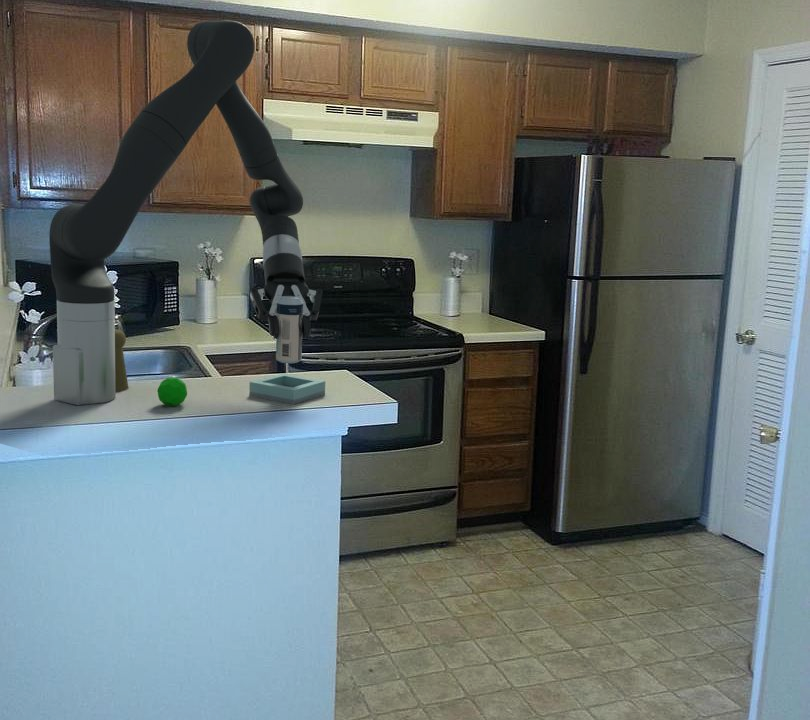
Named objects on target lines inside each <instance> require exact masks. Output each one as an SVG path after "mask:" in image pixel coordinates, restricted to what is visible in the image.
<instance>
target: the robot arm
mask: <svg viewBox="0 0 810 720" xmlns="http://www.w3.org/2000/svg"><path fill="white" fill-rule="evenodd" d="M186 45H187V46H186V47H187V52H188V56H189V58H190V60H191V63H192V64H193V66H192V68H190V70H189V71H188V72H187V73H186V74H184V76H183V77H182V78H180V79H179V80H177V81H176V82H175V83H173V84H172V85H170V86H169V87H167V88H166V89H165V90H163V91H162V92H161V93H159V94H157V96H154V98H153V99H151V100H150V101H149V102H148V103H147V104H146V105H145V106H144V107H143V108H142V110H141V111H140V112H139V114H138V115H137V116H136V117H135V119H134V120H133V121H132V123H131V124H130V125H129V127H128V128H127V130H126V131H125V133H124V134H123V136H122V139H121V142H120V145H119V146H118V150H117V153H116V157H115V159H114V163H113V166H112V169H111V171H110V173H109V175H108V176H107V178H106V179H105V181H104V182H103V183H102V185H101V186H100V187H99V188H98V190H97V191H95V193H94V194H93V196H91V198H89V200H88V201H87V202H86V203H85V204H79V203H77V204H76V203H75V204H67V205H65V206H63V207H61V208H60V209H58V210H57V211H56V213H55V214H54V216H53V217H52V219H51V221H50V226H49V235H48V236H49V240H48V241H49V256H50V257H49V258H50V272H51V279H52V282H53V285H54V288H55V294H56V323H57V324H56V327H57V328H56V330H57V333H56V336H57V344H54V345H53V346H52V370H53V371H52V372H53V373H52V374H53V376H52V377H53V400H54V401H58V402H63V403H67V404H71V405H76V406H81V405H89V404H100V403H106V402H109V401H113V400H115V398H116V392H115V329H116V327H115V324H116V323H115V321H116V319H115V311H116V309H115V305H116V304H115V286H114V284H113V282H112V281H111V280H110V278H109V276H108V274H107V271H106V267H105V266H106V264H105V260H106V259H107V258H110V256H112V255H113V254H114V253H115V252H116V251H117V250H118V248H119V246H120V245H121V244H122V242H123V241H124V238H125V237H126V235H127V233H128V231H129V229H130V227H131V226H132V224H133V222H134V221H135V218H136V217H137V215H138V213H139V212H140V210H141V208H142V206H143V205H144V203H145V202H146V200H147V199H148V198H149V197H150V196H151V194H152V193H153V191H154V190H155V188H157V186H158V185H159V184H160V182H161V181H162V179H163V178H164V176H165V175H166V174H167V172H168V171H169V170H170V169H171V167H172V166H173V165H174V163H175V162H176V160H177V159H178V158H179V157H180V155H181V154H182V153H183V151H184V149H185V148H186V146H187V145H188V144H189V142H190V141H191V140H192V138H193V136H194V135H195V134H196V132H197V130H199V127H201V125H202V124H203V123H204V121H205V120H206V118H207V117H208V116H209V114H210V113H211V111H212V110H213V108H214V107H215V105H216V106H217V108H218V111H219V112H220V114H221V115H222V118H223V120H224V122H225V124H226V126H227V128H228V130H229V131H230V133H231V134H230V135H231V136H232V139H233V141H234V144H235V146H236V148H237V151H238V154H239V156H240V159H241V162H242V163H243V166H244V169H245V171H246V174H247V175H248V177H249V178H250V179H252V180H256V181H257V180H259V181H261V180H262V181H271V182H273V183H271V184H268V185H264V186H260V187H257V188H255V189H254V190H253V191H252V192H251V194H250V197H249V205H250V208H251V211H252V212H253V215H254V217H255V218H256V220H257V222H258V226H259V228H260V231H261V237H262V238H261V239H262V247H263V248H262V266H263V273H264V281H265V283H264V284H265V285H264V287H263V288H260V289H258V288H257V287H255V286H254V287H251V288H250V293H249V294H250V295H249V300H250V301H251V304H252V306H253V310H254V311H255V314H256V317H257V319H258V320H259V321H267V323H268V332H269V335H270V336H271V337H273V340H276V339H278V334H279V330H278V320H277V302H278V300H279V298H280V296H297V297H301V299H302V301H303V321H302V340H307V339H308V337H310V336H311V333H312V332H311V331H312V324H311V321H313V322H315V321H316V322H317V320H318V318H319V313H320V308H321V304H322V303H321V302H322V297H323V293H324V291H323V289H322V288H317V289H316V290H315V289H310V288H309V287H308V285H307V284H306V278H305V271H304V263H303V255H302V254H303V253H302V250H301V247H300V242H299V241H300V240H299V234H298V226H297V223H296V222H295V221H294V219H293V218H292V217H291V216H296V215H297V214H299V213H301V211H302V209H303V206H304V199H303V194H302V191H301V190H300V187H299V186H298V185H297V183H295V181H294V179H293V178H292V177H291V176H290V174H289V173H288V171H287V170H286V168H285V167H284V164H283V162H282V161H281V159H280V156H279V154H278V151H277V148H276V146H275V143H274V139H273V136H272V135H271V132H270V130H269V128H268V126H267V125H266V123H265V122H264V120H263V119H262V117H261V116H260V115H259V113H258V112H257V111H256V109H255V108H254V107H253V106H252V104H251V103H250V101H249V100H248V98H247V97H246V96H245V94H244V93H243V91H242V89H241V87H240V86H239V83H238V80H239V79H240V77H242V75H243V74H244V73H245V72H246V70H247V69H248V68H249V66H250V64H251V62H252V60H253V57H254V54H255V49H256V48H255V40H254V36H253V33H252V31H251V29H249V28H248V27H247V25H246V24H243V23H241V22H239V21H237V20H236V21H235V20H230V19H223V20H221V19H220V20H217V19H216V20H203V21H200V22H197V23H195V24H194V25H193V26H192V27H191V29H190V30H189V32H188V35H187V39H186ZM264 297H265V298H266V299H267V300H269V302H270V303H271V307H270V309H269V310H267V309H266V307H265V304H264V302H263V298H264ZM307 297H308V298H309V299H310V302H311V303H313V305H312V306H313V307H312V309H311V310H309V308H308V307H307V302H306V301H305V300H306V298H307Z"/></svg>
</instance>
